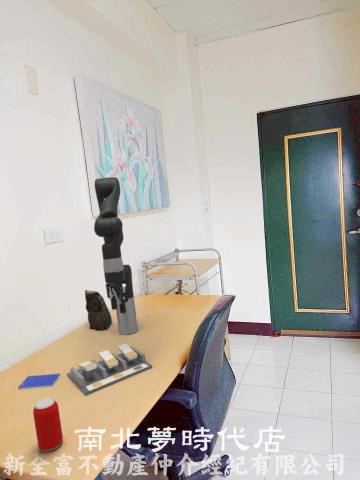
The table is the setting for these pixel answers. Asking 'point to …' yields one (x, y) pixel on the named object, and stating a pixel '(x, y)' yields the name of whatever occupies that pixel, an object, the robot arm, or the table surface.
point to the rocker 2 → (127, 351)
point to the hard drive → (39, 381)
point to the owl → (97, 311)
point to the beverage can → (47, 424)
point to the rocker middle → (108, 359)
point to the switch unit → (108, 372)
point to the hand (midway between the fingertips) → (118, 310)
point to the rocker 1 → (87, 366)
